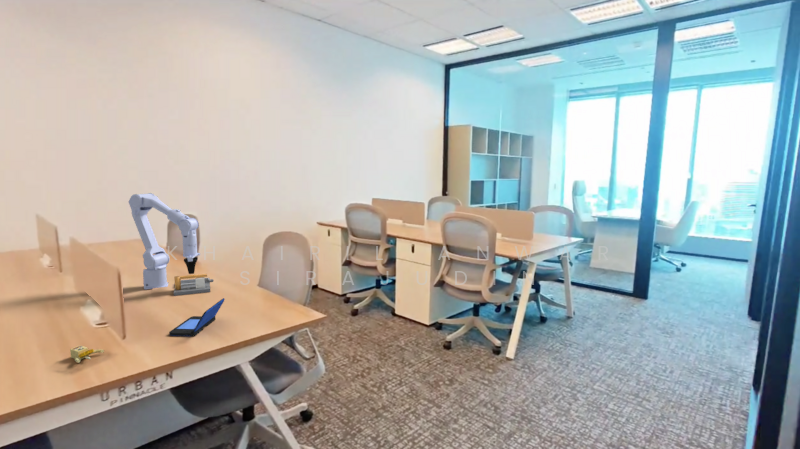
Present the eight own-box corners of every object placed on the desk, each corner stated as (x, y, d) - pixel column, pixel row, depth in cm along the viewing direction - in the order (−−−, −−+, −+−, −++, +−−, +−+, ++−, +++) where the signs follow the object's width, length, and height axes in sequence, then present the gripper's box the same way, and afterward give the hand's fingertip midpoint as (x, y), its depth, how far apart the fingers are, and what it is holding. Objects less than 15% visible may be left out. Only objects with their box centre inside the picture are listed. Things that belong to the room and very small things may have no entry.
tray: (176, 289, 190) (176, 285, 190) (177, 284, 197) (177, 280, 197) (209, 285, 196) (209, 281, 196) (209, 281, 203) (209, 277, 203)
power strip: (173, 296, 179) (173, 292, 179) (175, 291, 187) (174, 286, 187) (210, 293, 185) (210, 288, 185) (210, 287, 193) (209, 283, 193)
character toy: (78, 356, 116) (60, 351, 119) (79, 366, 117) (61, 361, 120) (107, 345, 124) (89, 340, 127) (107, 355, 124) (90, 350, 127)
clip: (174, 290, 182) (174, 277, 181) (175, 288, 184) (174, 276, 183) (207, 286, 187) (207, 274, 187) (207, 285, 190) (207, 273, 189)
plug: (196, 291, 185) (195, 278, 184) (196, 289, 188) (195, 276, 187) (214, 289, 188) (213, 277, 187) (213, 287, 191) (213, 275, 191)
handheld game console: (191, 319, 154) (190, 296, 153) (226, 320, 154) (225, 297, 153) (167, 336, 139) (165, 310, 138) (206, 338, 139) (204, 311, 137)
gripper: (199, 246, 182) (201, 276, 184) (199, 241, 195) (201, 269, 197) (181, 248, 179) (183, 278, 181) (183, 242, 192) (184, 270, 194)
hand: (191, 273), depth 189 cm, fingers closed
